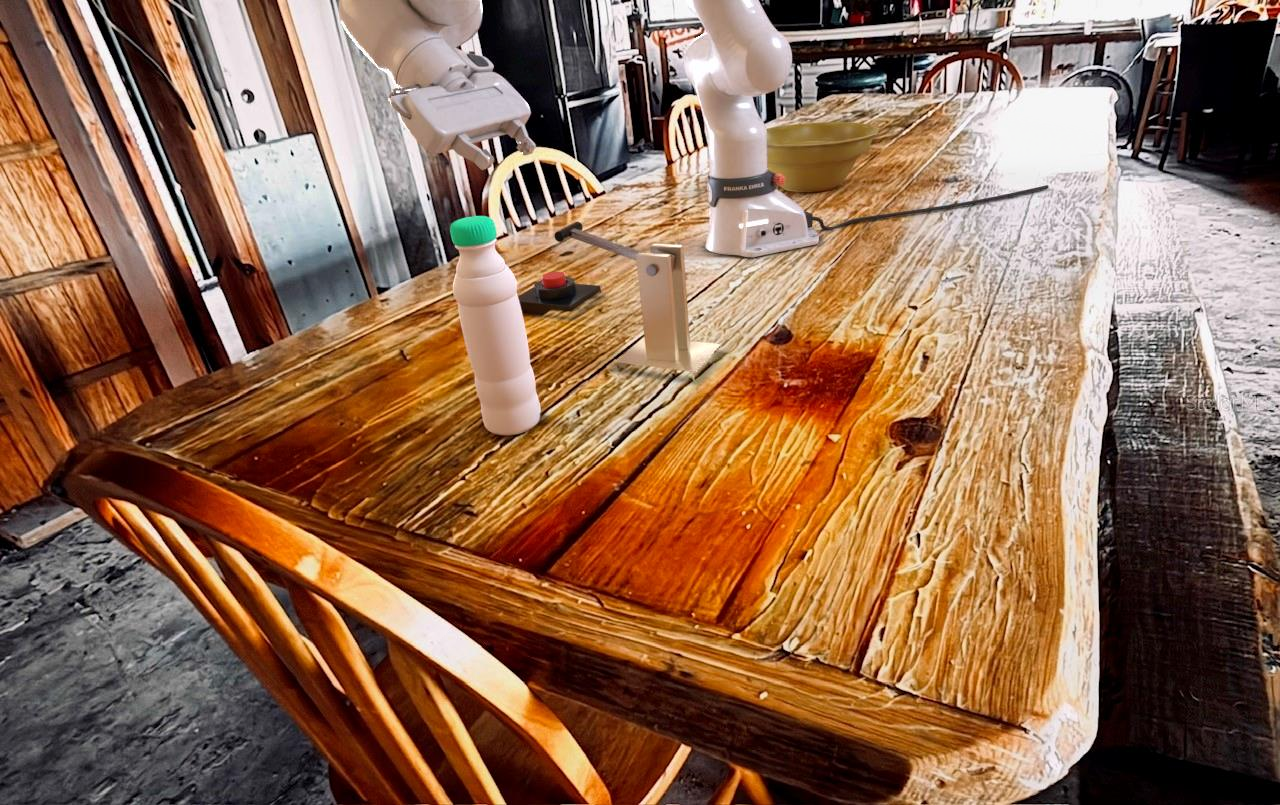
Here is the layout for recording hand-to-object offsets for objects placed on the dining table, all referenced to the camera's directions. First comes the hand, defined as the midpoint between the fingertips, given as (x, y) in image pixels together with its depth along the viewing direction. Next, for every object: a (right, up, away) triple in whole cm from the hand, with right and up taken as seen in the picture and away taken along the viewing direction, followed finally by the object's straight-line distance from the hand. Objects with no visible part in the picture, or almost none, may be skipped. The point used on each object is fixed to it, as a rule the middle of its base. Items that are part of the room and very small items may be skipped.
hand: (511, 158), depth 94 cm
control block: (+3, -16, +28) cm, 32 cm away
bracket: (+21, -27, +4) cm, 34 cm away
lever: (+14, -13, 0) cm, 19 cm away
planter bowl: (+61, +23, +88) cm, 110 cm away
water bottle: (+2, -35, -7) cm, 36 cm away
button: (+3, -12, +27) cm, 29 cm away
